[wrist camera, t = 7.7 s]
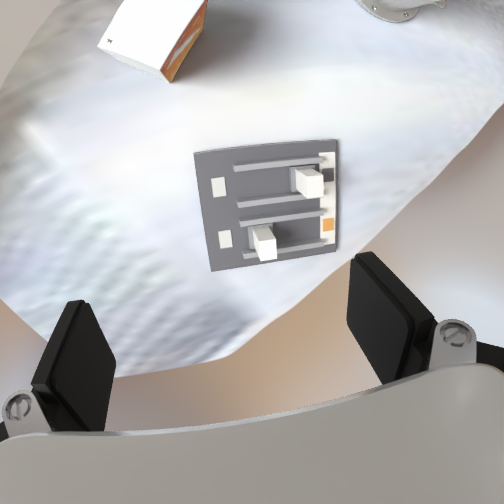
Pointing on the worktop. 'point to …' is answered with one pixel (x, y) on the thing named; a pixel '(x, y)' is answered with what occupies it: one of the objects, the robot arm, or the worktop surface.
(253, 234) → the switch
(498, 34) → the worktop surface
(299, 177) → the switch
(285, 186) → the switch unit
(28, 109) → the worktop surface
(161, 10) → the small box
